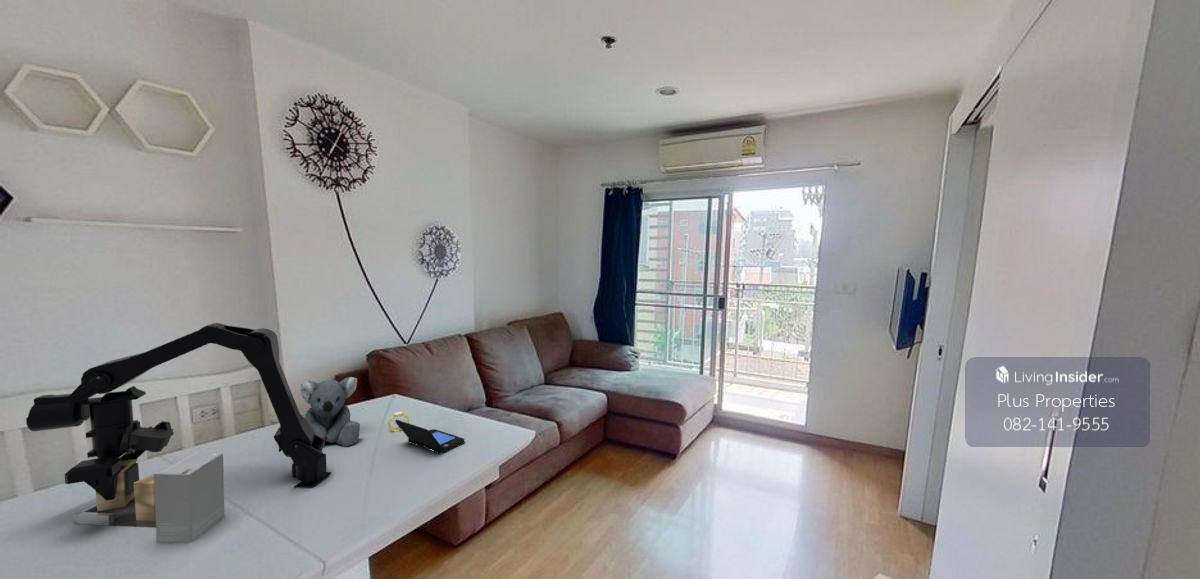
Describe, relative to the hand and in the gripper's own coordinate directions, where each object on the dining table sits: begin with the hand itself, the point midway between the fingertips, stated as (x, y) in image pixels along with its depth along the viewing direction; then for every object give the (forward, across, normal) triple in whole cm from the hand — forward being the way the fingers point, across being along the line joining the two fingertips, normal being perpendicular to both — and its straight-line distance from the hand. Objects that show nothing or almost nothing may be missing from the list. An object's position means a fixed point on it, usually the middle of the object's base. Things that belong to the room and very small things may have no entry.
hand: (117, 493), depth 87 cm
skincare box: (+6, -15, -16) cm, 23 cm away
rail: (+6, -2, -4) cm, 7 cm away
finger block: (+2, 0, 0) cm, 2 cm away
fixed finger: (+4, -5, -8) cm, 10 cm away
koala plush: (+6, +26, -35) cm, 44 cm away
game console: (+6, +8, -62) cm, 63 cm away
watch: (+6, +24, -54) cm, 60 cm away
